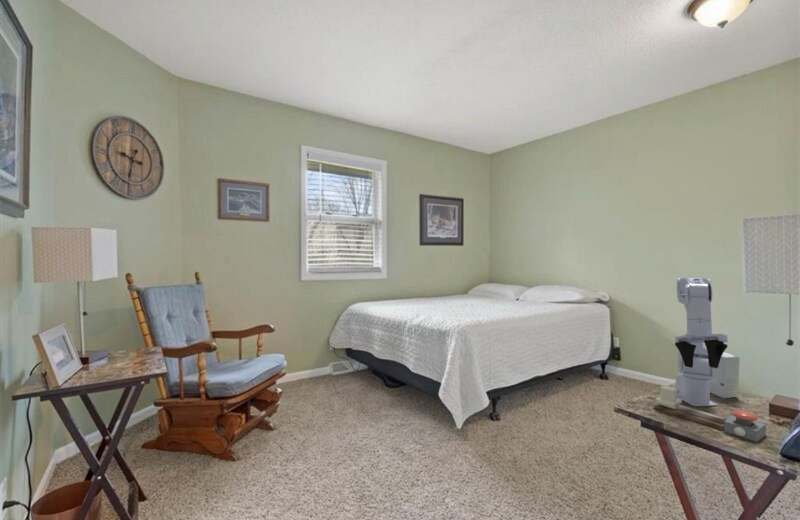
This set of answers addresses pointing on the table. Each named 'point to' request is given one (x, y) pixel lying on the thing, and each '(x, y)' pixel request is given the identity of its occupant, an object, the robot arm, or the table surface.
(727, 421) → the grey square base
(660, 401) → the carriage
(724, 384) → the skincare box
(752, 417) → the button
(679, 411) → the rail board
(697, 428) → the table surface
